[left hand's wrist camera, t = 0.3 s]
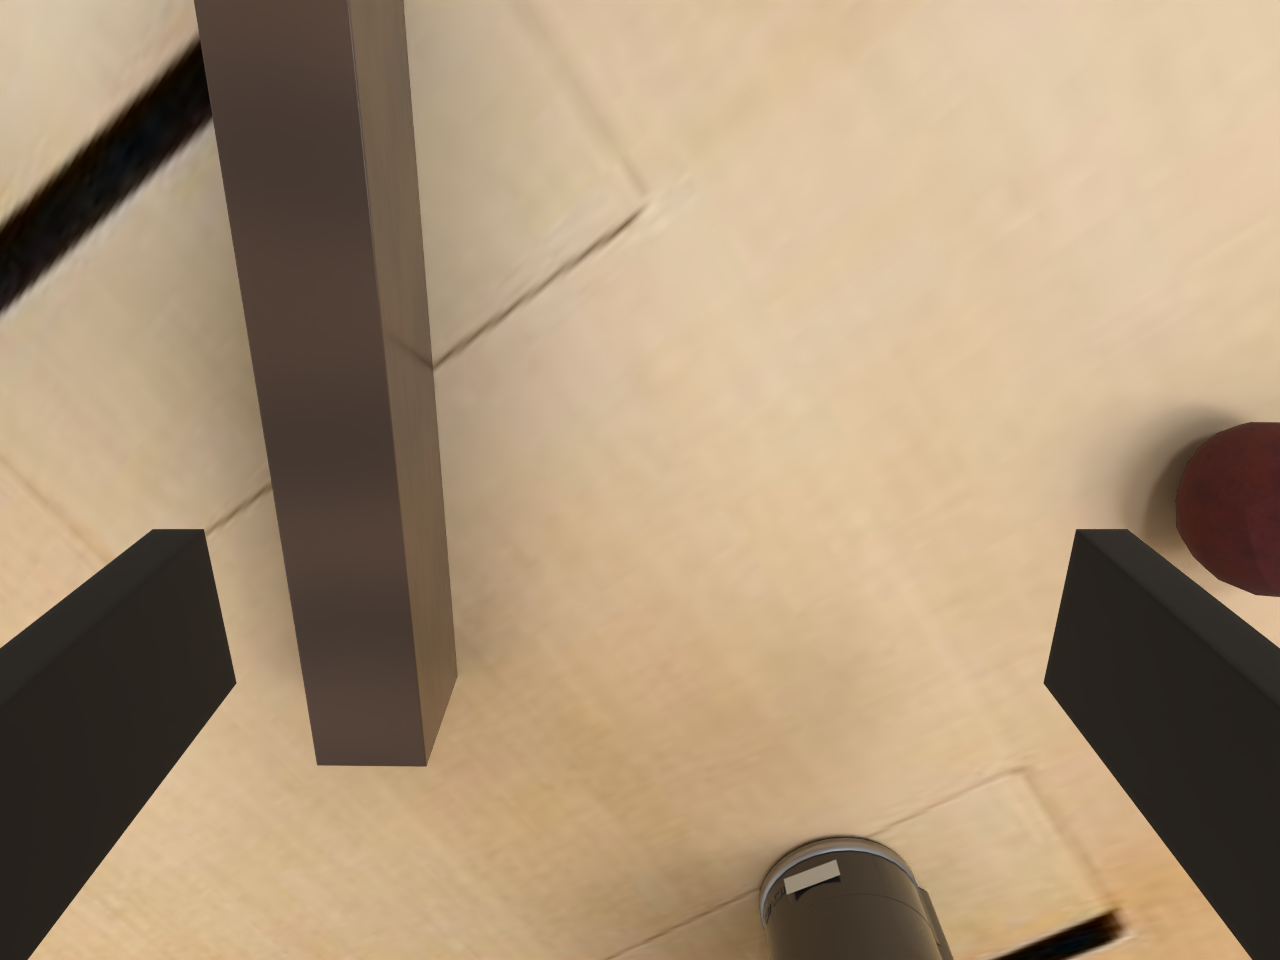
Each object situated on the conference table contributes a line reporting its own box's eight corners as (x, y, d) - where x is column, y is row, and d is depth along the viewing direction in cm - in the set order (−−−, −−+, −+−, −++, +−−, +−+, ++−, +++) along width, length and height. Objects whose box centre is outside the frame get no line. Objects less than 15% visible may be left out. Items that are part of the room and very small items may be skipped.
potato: (1174, 574, 42) (1272, 652, 36) (1117, 453, 40) (1212, 513, 33) (1320, 501, 41) (1451, 569, 34) (1270, 370, 38) (1401, 416, 32)
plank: (275, -12, 33) (184, -52, 26) (402, -10, 33) (343, -49, 26) (364, 675, 45) (316, 765, 38) (457, 676, 45) (426, 767, 38)
